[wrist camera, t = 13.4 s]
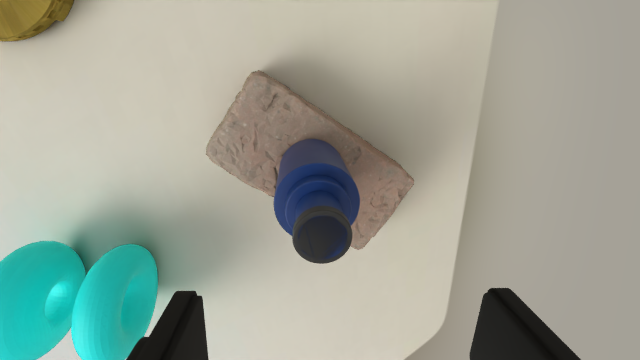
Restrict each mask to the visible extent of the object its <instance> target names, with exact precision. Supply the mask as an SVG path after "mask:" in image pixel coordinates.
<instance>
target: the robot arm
mask: <svg viewBox="0 0 640 360" xmlns="http://www.w3.org/2000/svg"><path fill="white" fill-rule="evenodd" d="M126 360H208V351H207V340H206V330H205V320H204V309H203V299H202V296H197V293H196V291H176V292H175V293H174V295H173V297H172V298H171V300H170V302H169V304H168V305H167V307H166V309H165V310H164V312H163V314H162V316H161V317H160V319H159V321H158V322H157V324H156V326H155V328H154V329H153V331H152V333H151V334H150V336H149V337H142V338H141V339H139V341H138V342H137V343H136V345H135V346H134V348H133V350H132V351H131V353H130V354H129V356H128V358H127V359H126ZM470 360H580V358H579V357H578V356H577V355H576V354H575V353H574V352H573V351H572V350H571V349H570V348H569V347H568V346H567V345H566V344H565V343H564V342H562V340H561V339H560V338H559V337H558V336H557V335H556V334H555V333H554V332H553V331H552V330H551V329H550V328H549V327H548V326H546V324H545V323H544V322H542V320H541V319H540V318H539V317H538V316H537V315H536V314H535V313H534V312H533V311H532V310H531V309H530V308H529V307H528V306H527V305H526V304H525V303H524V302H523V301H522V300H521V299H520V298H519V297H518V296H517V295H516V294H515V293H514V292H513V291H512V290H510V289H509V288H491V289H489V290H488V292H487V293H485V294H484V296H483V299H482V304H481V308H480V312H479V316H478V321H477V325H476V330H475V334H474V338H473V342H472V346H471V351H470Z"/></svg>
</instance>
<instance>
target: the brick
mask: <svg viewBox="0 0 640 360" xmlns="http://www.w3.org/2000/svg"><path fill="white" fill-rule="evenodd" d="M306 139H318V140H322V141H325V142H327V143H329V144H330V145H332V146H333V147H334V148H335V149H336V150H337V151H338V153H339V154H340V156H341V158H342V160H343V161H344V163H345V165H346V167H347V169H348V171H349V173H350V174H351V176H352V178H353V180H354V182H355V184H356V186H357V188H358V191H359V195H360V207H359V212H358V215H357V217H356V219H355V221H354V223H353V224H352V225H351V229H352V242H351V245H350V246H351V247H353V248H355V249H357V250H359V249H361V248H363V247H365V245H366V244H367V243H368V242H369V240H370V239H371V237H374V236H375V235H376V233H377V232H378V231H379V230H380V228H381V227H382V226H383V225H384V224H385V223H386V221H387V220H388V219H389V218H390V216H391V215H392V214H393V212H394V211H395V209H396V208H397V206H398V205H399V203H400V202H401V200H402V199H403V198H404V196H405V195H406V193H407V192H408V191H409V189H410V188H411V187H412V186H413V184H414V179H413V178H412V177H411V176H410V175H409V174H408V173H407V172H406V171H405V170H404V169H403V168H402V167H401V165H399V164H398V163H397V162H396V161H394V160H392V159H391V158H389V157H388V156H387V155H385V154H383V153H382V152H380V151H379V150H377V149H376V148H374V147H373V146H371V145H370V144H369V143H368V142H367V141H365V140H363V139H362V138H360V137H359V136H358V135H356V134H355V133H353V132H352V131H350V130H349V129H348V128H346V127H344V126H343V125H341V124H340V123H338V122H336V121H335V120H334V119H332V118H331V117H330V116H328V115H327V114H325V113H324V112H323V111H321V110H320V109H318V108H317V107H315V106H313V105H312V104H310V103H308V102H307V101H306V100H304V99H303V98H302V97H300V96H299V95H297V94H296V93H294V92H293V91H291V90H290V89H289V88H288V87H286V86H285V85H283V84H281V83H280V82H278V81H277V80H275V79H273V78H272V77H270V76H268V75H267V74H265V73H264V72H262V71H259V70H258V71H257V72H256V71H255V72H252V73H251V74H250V75H249V76H248V78H247V79H246V81H245V83H244V85H243V89H242V91H241V92H239V93H238V95H237V96H236V99H235V101H234V103H233V104H232V105H231V107H230V108H229V110H228V112H227V114H226V116H225V118H224V120H223V121H222V122H221V124H219V126H218V128H217V129H216V131H215V132H214V134H213V136H212V137H211V139H210V140H209V143H208V145H207V147H206V155H207V156H208V157H209V159H210V160H211V161H212V162H213V163H215V164H216V165H218V166H220V167H222V168H223V169H225V170H226V171H227V172H229V173H230V174H232V175H234V176H236V177H237V178H238V179H240V180H241V181H243V182H244V183H246V184H248V185H250V186H252V187H254V188H257V189H259V190H262V191H263V192H265V193H266V194H268V195H269V196H272V197H274V196H275V190H276V184H277V179H278V173H279V167H280V162H281V159H282V157H283V155H284V153H285V152H286V151H287V150H288V149H289V148H290V147H291V146H292V145H293V144H295V143H297V142H299V141H302V140H306Z"/></svg>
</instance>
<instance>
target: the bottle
mask: <svg viewBox="0 0 640 360" xmlns="http://www.w3.org/2000/svg"><path fill="white" fill-rule="evenodd" d="M359 207H360V195H359V191H358V188H357V186H356V184H355V182H354V180H353V178H352V176H351V174H350V173H349V171H348V169H347V167H346V165H345V163H344V161H343V160H342V158H341V156H340V154H339V153H338V151H337V150H336V149H335V148H334V147H333V146H332V145H330V144H329V143H327V142H325V141H322V140H318V139H306V140H302V141H299V142H297V143H295V144H293V145H292V146H291V147H290V148H289V149H288V150H287V151H286V152H285V153H284V155H283V157H282V159H281V162H280V167H279V173H278V179H277V184H276V190H275V196H274V211H275V215H276V218H277V220H278V222H279V224H280V225H281V226H282V228H283V229H284V230H285V231H286V232H287V233H289V234H290V235H291V236H292V239H293V245H294V247H295V249H296V251H297V252H298V254H299V255H300V256H301V257H303V258H304V259H306V260H308V261H310V262H313V263H329V262H333V261H335V260H337V259H339V258H340V257H342V256H343V255H344V254H345V253H346V252H347V250H348V249H349V247H350V245H351V242H352V229H351V225H352V224H353V223H354V221H355V219H356V217H357V215H358V212H359Z"/></svg>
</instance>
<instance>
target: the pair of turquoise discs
mask: <svg viewBox="0 0 640 360" xmlns="http://www.w3.org/2000/svg"><path fill="white" fill-rule="evenodd" d="M157 289H158V273H157V267H156V263H155V260H154V258H153V256H152V255H151V253H150V252H149V251H148V250H147V249H145V248H144V247H142V246H139V245H136V244H126V245H121V246H118V247H116V248H113V249H112V250H110V251H109V252H107V253H105V254H104V255H103V256H102V257H101V258H100V259H99V260H98V261H97V262H96V263H95V264H94V265H93V266H92V268H91V269H90V270H89V272H88V274H87V275H86V273H85V268H84V265H83V263H82V261H81V259H80V257H79V255H78V254H77V253H76V252H75V251H74V250H73V249H72V248H70V247H69V246H67V245H65V244H63V243H59V242H55V241H40V242H35V243H31V244H28V245H25V246H23V247H21V248H19V249H17V250H15V251H14V252H12V253H11V254H9V255H8V256H6V257H5V258H4V259H3V260H2V261H1V262H0V360H36V359H38V358H40V357H41V356H43V355H44V354H46V353H47V352H49V351H50V350H51V349H52V348H54V347H55V346H56V345H57V344H58V343H59V342H60V341H61V340H62V339H63V337H64V336H65V335H66V334H67V332H68V331H69V330H70V328H71V333H72V340H73V344H74V347H75V349H76V352H77V353H78V355H79V356H80V357H81V359H82V360H125V359H126V358H127V357H128V356H129V354H130V353H131V351H132V350H133V348H134V346H135V345H136V343H137V342H138V341H139V339H141V338H142V337H144V335H145V333H146V331H147V328H148V326H149V324H150V321H151V318H152V315H153V311H154V307H155V303H156V297H157Z"/></svg>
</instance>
